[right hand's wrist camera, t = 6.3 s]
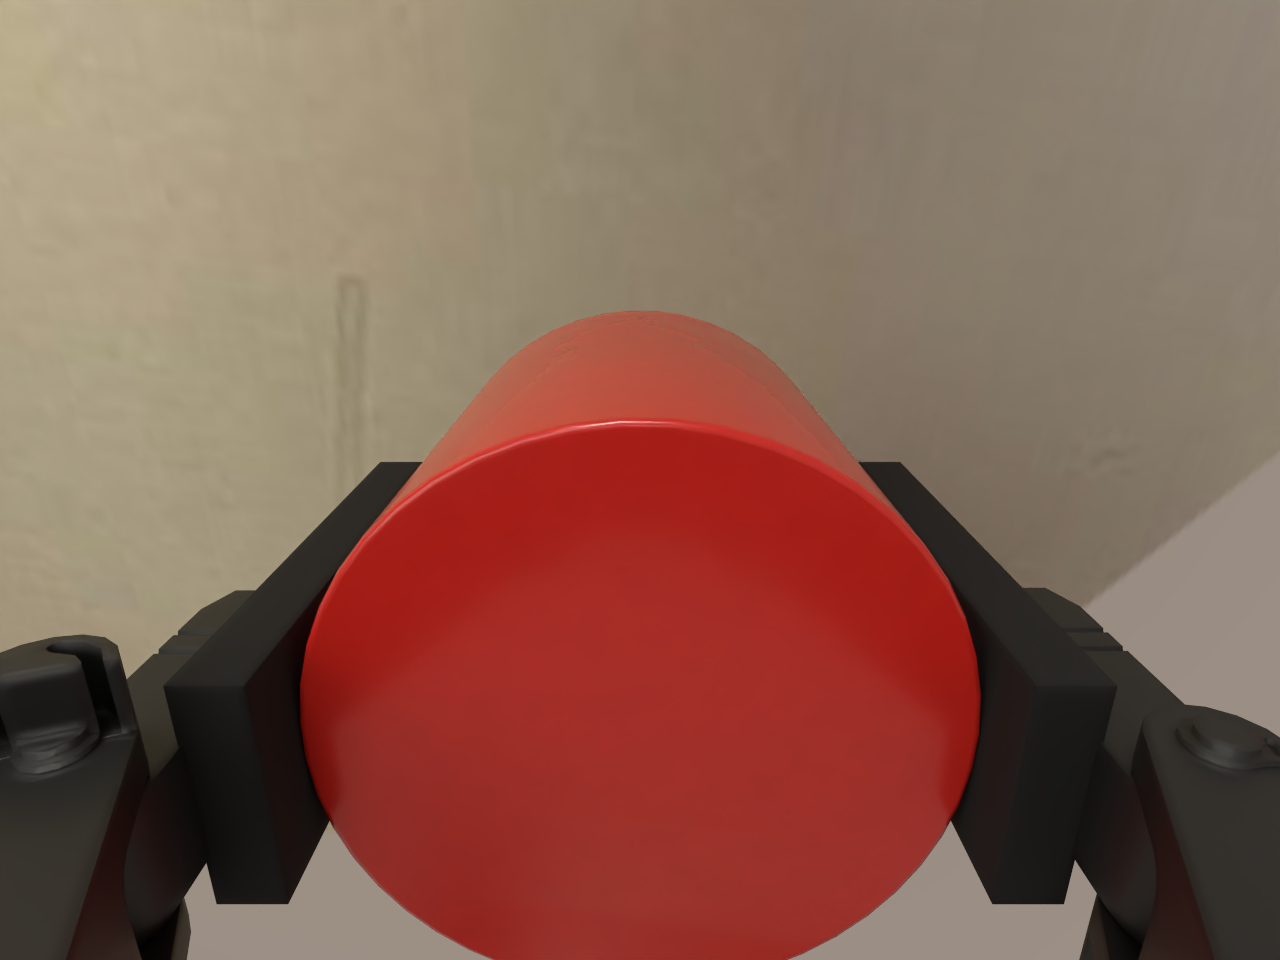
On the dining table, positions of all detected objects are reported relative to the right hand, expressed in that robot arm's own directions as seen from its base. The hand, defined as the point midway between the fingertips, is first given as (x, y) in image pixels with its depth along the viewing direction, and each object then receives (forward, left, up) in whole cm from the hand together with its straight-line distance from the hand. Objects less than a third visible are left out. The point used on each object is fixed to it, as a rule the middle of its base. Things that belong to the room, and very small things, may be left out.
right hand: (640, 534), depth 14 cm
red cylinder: (0, 0, -2) cm, 2 cm away
